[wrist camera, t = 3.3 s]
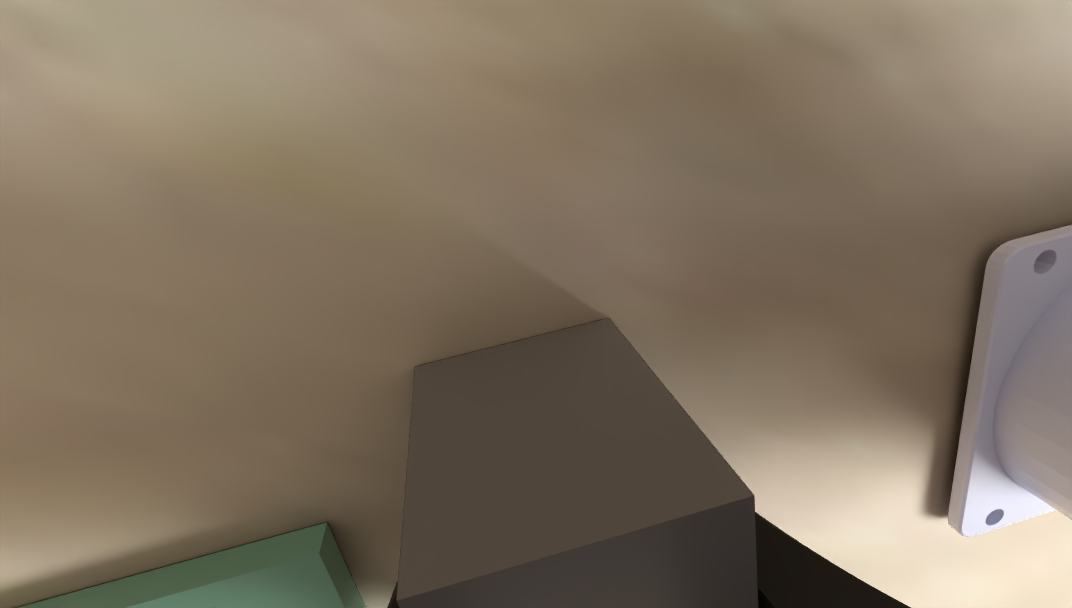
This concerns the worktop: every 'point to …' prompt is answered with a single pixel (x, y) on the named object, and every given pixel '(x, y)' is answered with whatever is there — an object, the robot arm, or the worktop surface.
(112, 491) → the worktop surface
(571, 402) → the block
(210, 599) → the board
